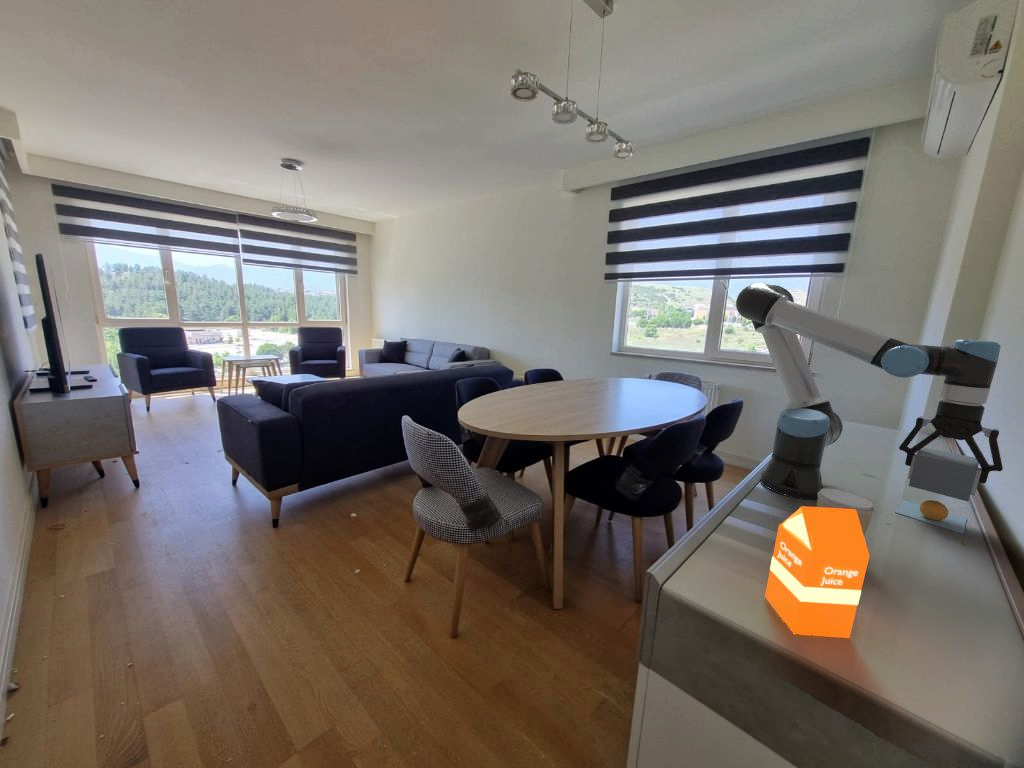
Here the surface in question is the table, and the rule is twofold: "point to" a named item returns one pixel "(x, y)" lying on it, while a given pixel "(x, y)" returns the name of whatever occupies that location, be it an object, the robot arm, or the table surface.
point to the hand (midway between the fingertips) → (940, 485)
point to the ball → (934, 510)
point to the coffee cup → (847, 504)
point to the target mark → (914, 512)
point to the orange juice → (818, 571)
